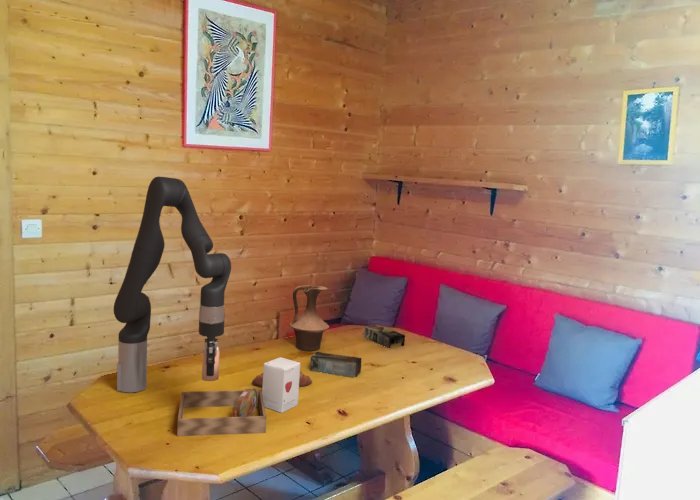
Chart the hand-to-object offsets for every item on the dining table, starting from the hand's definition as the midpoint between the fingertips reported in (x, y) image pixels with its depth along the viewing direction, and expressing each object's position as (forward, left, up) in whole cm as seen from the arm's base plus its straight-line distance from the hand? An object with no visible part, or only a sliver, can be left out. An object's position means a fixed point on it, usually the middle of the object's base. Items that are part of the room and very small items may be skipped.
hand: (210, 372), depth 186 cm
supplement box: (+23, +9, -16) cm, 29 cm away
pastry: (+26, +27, -16) cm, 41 cm away
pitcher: (+41, +69, -16) cm, 82 cm away
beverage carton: (+48, +40, -16) cm, 64 cm away
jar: (0, 0, -2) cm, 2 cm away
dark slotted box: (+78, +77, -16) cm, 110 cm away
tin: (+11, 0, -16) cm, 19 cm away
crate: (+4, 0, -15) cm, 16 cm away
